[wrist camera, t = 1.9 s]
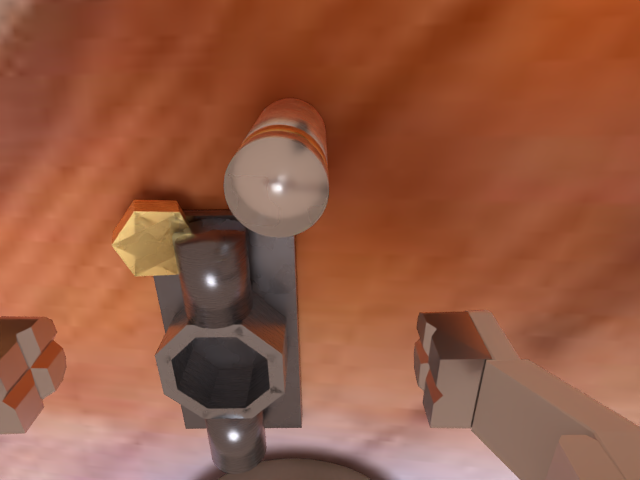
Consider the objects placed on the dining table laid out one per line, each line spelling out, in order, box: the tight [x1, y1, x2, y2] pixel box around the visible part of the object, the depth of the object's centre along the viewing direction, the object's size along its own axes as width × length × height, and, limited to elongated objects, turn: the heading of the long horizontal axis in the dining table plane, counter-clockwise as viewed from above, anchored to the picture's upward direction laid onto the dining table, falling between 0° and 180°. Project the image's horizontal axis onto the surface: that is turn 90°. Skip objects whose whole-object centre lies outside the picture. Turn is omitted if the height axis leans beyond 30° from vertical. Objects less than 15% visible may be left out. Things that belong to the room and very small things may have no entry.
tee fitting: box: [153, 210, 302, 474], centre depth 31 cm, size 10×20×5 cm, turn 1°
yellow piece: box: [112, 200, 189, 276], centre depth 28 cm, size 4×5×2 cm
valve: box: [224, 98, 329, 238], centre depth 23 cm, size 4×4×10 cm
